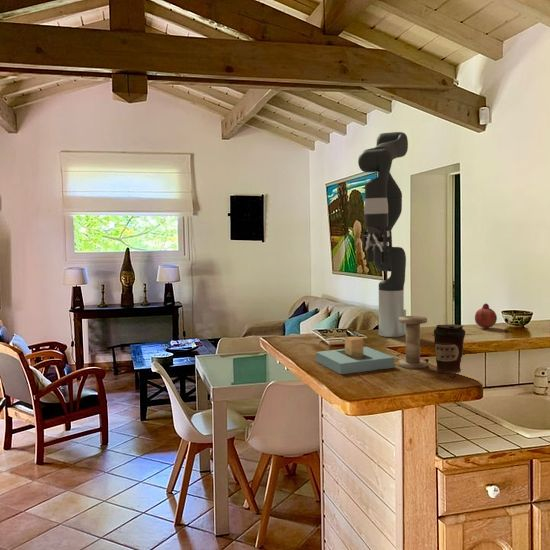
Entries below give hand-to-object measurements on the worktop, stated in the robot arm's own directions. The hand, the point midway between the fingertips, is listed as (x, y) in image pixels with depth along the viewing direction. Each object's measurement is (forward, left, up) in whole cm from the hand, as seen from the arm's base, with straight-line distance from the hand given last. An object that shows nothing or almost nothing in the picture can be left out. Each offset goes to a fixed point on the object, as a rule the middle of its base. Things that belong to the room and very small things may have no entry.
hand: (377, 262), depth 175 cm
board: (+16, +13, -29) cm, 35 cm away
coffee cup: (-4, +31, -29) cm, 43 cm away
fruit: (-58, -15, -29) cm, 67 cm away
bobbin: (+1, +21, -29) cm, 36 cm away
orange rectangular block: (+16, +13, -29) cm, 35 cm away
